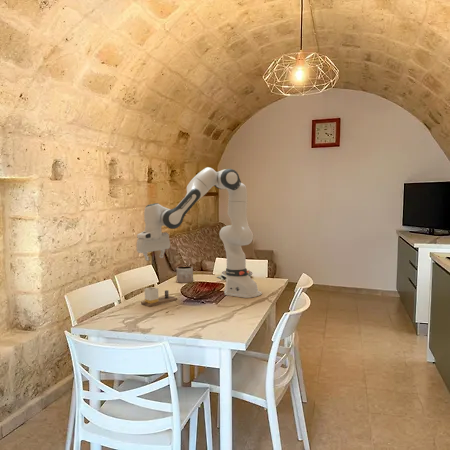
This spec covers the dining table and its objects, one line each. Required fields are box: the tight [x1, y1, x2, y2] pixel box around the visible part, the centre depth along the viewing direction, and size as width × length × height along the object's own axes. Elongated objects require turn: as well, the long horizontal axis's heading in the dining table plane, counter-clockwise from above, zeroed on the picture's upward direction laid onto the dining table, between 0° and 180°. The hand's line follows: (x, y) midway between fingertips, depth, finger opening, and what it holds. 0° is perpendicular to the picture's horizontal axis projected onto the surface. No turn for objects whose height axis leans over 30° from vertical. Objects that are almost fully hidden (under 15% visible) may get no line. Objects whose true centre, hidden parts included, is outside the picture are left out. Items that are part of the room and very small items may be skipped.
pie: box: [216, 270, 253, 281], centre depth 277 cm, size 28×27×5 cm
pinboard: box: [140, 290, 178, 308], centre depth 216 cm, size 8×18×5 cm, turn 136°
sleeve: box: [144, 286, 159, 303], centre depth 212 cm, size 5×5×7 cm
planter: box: [176, 265, 194, 284], centre depth 266 cm, size 11×11×10 cm
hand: (154, 259), depth 217 cm, fingers open, 8 cm apart
